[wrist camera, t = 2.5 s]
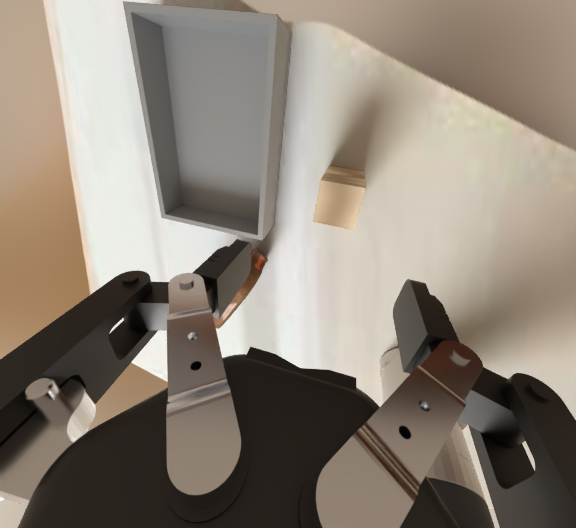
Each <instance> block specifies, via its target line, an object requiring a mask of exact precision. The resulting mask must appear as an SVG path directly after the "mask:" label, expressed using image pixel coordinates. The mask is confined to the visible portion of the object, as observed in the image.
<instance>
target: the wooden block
mask: <svg viewBox="0 0 576 528" xmlns="http://www.w3.org/2000/svg"><path fill="white" fill-rule="evenodd" d="M365 190H366V185H365V177H364V171H358V170H352V169H347V168H341V167H335V166H329V167H328V169H327V171H326V172H325V174H324V175H323V177H322V179H321V181H320V187H319V192H318V197H317V203H316V208H315V213H314V218H313V222H318V223H322V224H327V225H332V226H337V227H341V228H346V229H351V230H354V227H355V224H356V220H357V217H358V213H359V210H360V207H361V203H362V200H363V196H364V193H365Z"/></svg>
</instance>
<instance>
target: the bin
mask: <svg viewBox="0 0 576 528" xmlns="http://www.w3.org/2000/svg"><path fill="white" fill-rule="evenodd" d="M123 4H124V10H125V15H126V21H127V27H128V32H129V38H130V43H131V49H132V55H133V60H134V66H135V71H136V77H137V82H138V88H139V94H140V99H141V105H142V110H143V116H144V121H145V127H146V133H147V138H148V144H149V149H150V155H151V160H152V166H153V172H154V177H155V183H156V188H157V194H158V200H159V205H160V211H161V216H162V218H165V219H170V220H174V221H178V222H183V223H187V224H191V225H196V226H200V227H205V228H209V229H213V230H218V231H222V232H226V233H231V234H235V235H240V236H244V237H248V238H253V239H257V240H263V239H264V238H265V236H266V235H267V234H268V233H269V231H270V230H271V229H272V227H273V226H274V220H275V209H276V198H277V188H278V177H279V167H280V156H281V145H282V135H283V124H284V114H285V103H286V92H287V82H288V71H289V61H290V50H291V39H292V33H291V31H290V30H289V29H288V28H287V26H286V25H285V24H284V22H283V21H282V20H281V18H280V17H279V16H278V15H277V14H266V13H254V12H242V11H230V10H218V9H206V8H195V7H183V6H171V5H159V4H147V3H135V2H124V1H123Z"/></svg>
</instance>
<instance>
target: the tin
mask: <svg viewBox="0 0 576 528" xmlns="http://www.w3.org/2000/svg"><path fill="white" fill-rule="evenodd" d="M267 261H268V259H267V258H266V257H265V256H264V255H262V254H261V253H259V252H258V251H257V250H256V249H254V250H253V251H252V252H251V269H250V273H249V276H248V278H247V279H246V281H245V282H244V284H243V285H242V287H241V288H240V290H239V291H238V292H237V294H236V295H235V297H234V298H233V300H232V301H231V303H230V304H229V306H228V307H227V308H226V310H225V311H224V313H223V314H222V316H221V317H220V319H218V318H214V317H213V319H214V323H215V328H220V327H221V326H222V325H223V324H224V323H225V322H226V321H227V319H228V318H229V317H230V316H231V315H232V314H233V312H234V311H235V310H236V309H237V308H238V306H239V305H240V304H241V303H242V301H243V300H244V299H245V298H246V296H247V295H248V294H249V292H250V291H251V290H252V288H253V287H254V285H255V284H256V282H257V280H258V279H259V277H260V275H261V273H262V269H263V267H264V265H265V263H266V262H267Z"/></svg>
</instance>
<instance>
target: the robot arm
mask: <svg viewBox="0 0 576 528" xmlns="http://www.w3.org/2000/svg"><path fill="white" fill-rule="evenodd" d="M251 250H252V245H251V243H250V242H246V241H241V240H236V241H235V242H234V243H233V244H232V245H231V246H230V247H227V246H225V247H223V248H220V249H218V250H217V251H216V252H214V253H213V254H212V256H210V257H209V258H208V260H206V261H205V262H204V263H203V264H202V265H201V266H200V267H198V268H197V269H196V270H195V271H194V272H193V273H185V274H180V275H177V276H175V277H174V278H172V279H171V280H170V282H151V280H150V276H149V274H148V273H146V272H143V271H129V272H125V273H122V274H120V275H118V276H116V277H115V278H114V279H112V280H111V281H109V282H108V283H107V284H105V285H104V286H102V287H101V288H100V289H98V290H97V291H95V292H94V293H93V294H91V295H90V296H88V297H87V298H86V299H84V300H83V301H81V302H80V303H79V304H77V305H76V306H74V307H73V308H72V309H70V310H69V311H67V312H66V313H65V314H63V315H62V316H60V317H59V318H58V319H56V320H55V321H54V322H52V323H51V324H49V325H48V326H47V327H45V328H44V329H42V330H41V331H40V332H38V333H37V334H35V335H34V336H33V337H31V338H30V339H28V340H27V341H26V342H24V343H23V344H22V345H20V346H19V347H17V348H16V349H14V350H13V351H12V352H10V353H9V354H7V355H6V356H5V357H3V358H2V359H0V501H2V500H5V499H8V500H11V501H14V502H18V503H20V504H24V505H27V508H26V510H25V513H24V515H23V518H22V520H21V522H20V524H19V526H18V528H494V524H493V521H492V518H491V515H490V512H489V509H488V506H487V504H486V501H485V498H484V495H483V492H482V489H481V486H480V483H479V480H478V477H477V474H476V471H475V468H474V465H473V462H472V459H471V456H470V453H469V450H468V447H467V444H466V441H465V438H464V435H463V432H462V430H463V429H464V428H465V427H466V426H467V424H468V425H469V428H470V432H471V435H472V438H473V441H474V445H475V448H476V451H477V454H478V458H479V461H480V464H481V468H482V471H483V474H484V477H485V481H486V484H487V487H488V490H489V494H490V497H491V500H492V504H493V507H494V510H495V513H496V516H497V520H498V523H499V526H500V528H576V420H575V419H574V417H573V416H572V414H571V413H570V411H569V410H568V408H567V407H566V405H565V404H564V402H563V401H562V399H561V398H560V397H559V396H558V395H557V394H556V393H555V392H554V391H553V390H552V389H551V388H550V387H549V386H547V385H546V384H544V383H543V382H541V381H540V380H538V379H536V378H534V377H532V376H529V375H527V374H522V373H516V374H514V375H512V376H511V377H510V378H509V379H506V378H504V377H502V376H500V375H498V374H496V373H494V372H492V371H490V370H488V369H486V368H484V367H483V364H482V361H481V360H480V358H479V357H478V356H477V354H476V353H475V352H474V351H472V350H471V349H470V348H468V347H467V346H465V345H463V344H461V343H460V342H459V340H458V337H457V335H456V333H455V331H454V329H453V326H452V324H451V322H450V321H449V318H448V315H447V314H446V311H445V309H444V307H443V305H442V303H441V302H440V301H439V300H438V299H437V298H436V297H435V296H433V295H430V293H429V291H428V288H427V286H426V284H425V283H422V282H418V281H414V280H409V279H408V280H407V281H406V282H405V284H404V286H403V288H402V290H401V292H400V294H399V296H398V298H397V300H396V302H395V305H394V308H393V318H394V324H395V329H396V335H397V340H398V346H399V348H395V349H392V350H390V351H388V352H387V353H385V354H384V355H383V357H382V358H381V361H380V367H381V378H382V390H383V401H384V403H383V405H382V406H381V407H379V406H378V405H377V404H376V403H375V402H374V401H373V400H372V399H371V398H370V397H369V396H368V395H367V394H365V393H364V392H362V391H361V390H359V389H358V388H356V378H354V377H351V376H348V375H344V374H341V373H337V372H334V371H331V370H320V369H303V368H299V367H297V366H295V365H293V364H292V363H290V362H288V361H286V360H285V359H283V358H281V357H279V356H278V355H276V354H273V353H270V352H266V351H263V350H260V349H256V348H253V347H250V349H249V351H248V353H247V355H245V354H242V355H233V356H228V357H225V358H222V355H221V351H220V346H219V342H218V337H217V333H216V328H215V323H214V319H213V317H214V318H218V319H220V317H221V316H222V314H223V313H224V311H225V310H226V308H227V307H228V306H229V304H230V303H231V301H232V300H233V298H234V297H235V295H236V294H237V292H238V291H239V290H240V288H241V287H242V285H243V284H244V282H245V281H246V279H247V278H248V276H249V273H250V269H251ZM122 318H124V321H123V322H122V323H121V324H120V325H119V326H117V327H116V328H115V329H114V330H113V331H112V332H111V333H110V331H111V329H112V328H113V327H114V325H116V324H117V323H118V322H119V321H120V320H121V319H122ZM158 330H167V364H168V388H166V389H164V390H162V391H160V392H159V393H157V394H155V395H153V396H151V397H150V398H148V399H146V400H144V401H142V402H141V403H139V404H137V405H135V406H133V407H131V408H130V409H128V410H126V411H124V412H122V413H120V414H119V415H117V416H115V417H113V418H111V419H109V420H108V421H106V422H104V423H102V424H100V425H98V426H97V427H95V428H93V429H92V430H90V431H88V427H89V426H90V424H91V423H92V421H93V419H94V416H95V412H96V408H95V404H96V403H97V401H98V400H99V399H100V398H101V397H102V396H103V395H104V393H105V392H106V391H107V390H108V389H109V387H110V386H111V385H112V384H113V383H114V381H115V380H116V379H117V378H118V377H119V376H120V375H121V373H122V372H123V371H124V370H125V369H126V367H127V366H128V365H129V364H130V363H131V362H132V360H133V359H134V358H135V357H136V356H137V355H138V353H139V352H140V351H141V350H142V349H143V347H144V346H145V345H146V344H147V343H148V342H149V340H150V339H151V338H152V337H153V336H154V335H155V333H156V332H157V331H158ZM109 333H110V334H109ZM524 441H526V443H527V445H528V447H529V449H530V451H531V453H532V455H533V458H534V461H535V471H534V469H533V467H532V465H531V462H530V460H529V458H528V456H527V454H526V451H525V449H524V447H523V445H522V443H523V442H524Z"/></svg>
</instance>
